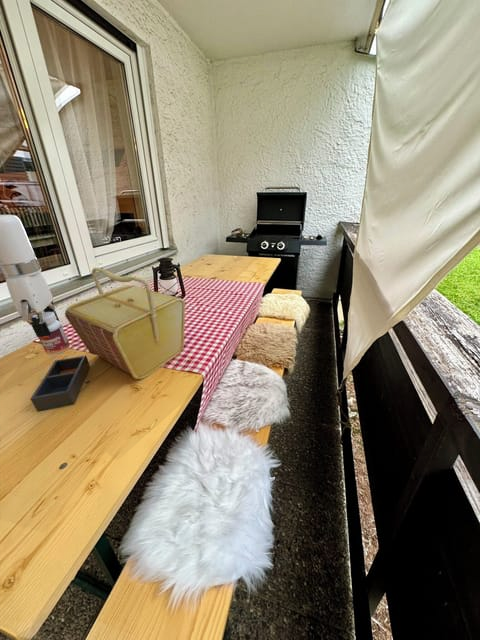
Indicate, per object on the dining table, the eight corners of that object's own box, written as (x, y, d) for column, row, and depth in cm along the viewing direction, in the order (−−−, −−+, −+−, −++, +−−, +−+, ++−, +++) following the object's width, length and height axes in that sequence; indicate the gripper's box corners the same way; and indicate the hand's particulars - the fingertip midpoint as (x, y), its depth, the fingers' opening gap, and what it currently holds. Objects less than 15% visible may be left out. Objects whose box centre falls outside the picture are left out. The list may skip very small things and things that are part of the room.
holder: (37, 411, 70) (30, 399, 67) (60, 371, 85) (55, 360, 82) (74, 404, 71) (68, 392, 69) (90, 366, 86) (85, 355, 84)
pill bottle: (45, 358, 73) (28, 323, 67) (46, 348, 77) (30, 314, 72) (70, 351, 75) (55, 316, 70) (70, 341, 80) (56, 308, 75)
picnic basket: (194, 348, 93) (182, 267, 79) (133, 392, 75) (103, 296, 60) (143, 328, 108) (125, 256, 94) (81, 360, 89) (47, 277, 75)
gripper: (21, 260, 71) (46, 318, 80) (-18, 281, 57) (19, 348, 65) (51, 258, 73) (73, 314, 81) (21, 276, 58) (52, 343, 66)
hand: (49, 329), depth 73 cm, fingers closed on pill bottle, 6 cm apart
